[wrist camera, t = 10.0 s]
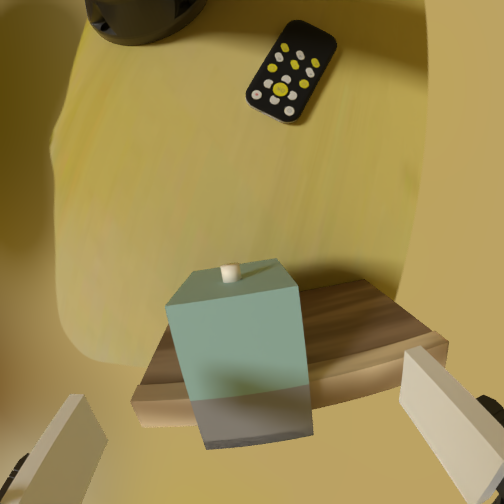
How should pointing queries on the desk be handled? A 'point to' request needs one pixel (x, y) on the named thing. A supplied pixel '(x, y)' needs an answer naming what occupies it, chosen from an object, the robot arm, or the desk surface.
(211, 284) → the cabinet
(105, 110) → the desk surface
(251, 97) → the remote control
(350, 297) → the wall board
